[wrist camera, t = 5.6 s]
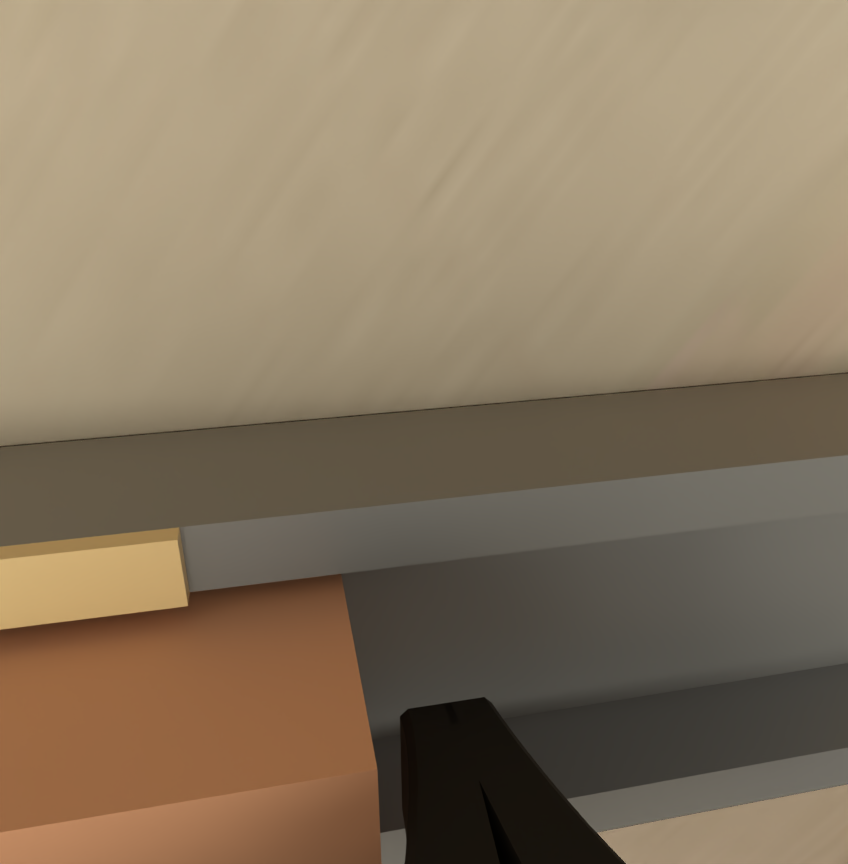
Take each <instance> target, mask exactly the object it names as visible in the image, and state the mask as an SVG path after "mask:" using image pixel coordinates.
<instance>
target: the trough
mask: <svg viewBox="0 0 848 864" xmlns="http://www.w3.org/2000/svg"><path fill="white" fill-rule="evenodd" d="M335 574H341V576H342V582H343V587H344V593H345V598H346V603H347V609H348V614H349V619H350V625H351V630H352V635H353V641H354V646H355V652H356V657H357V662H358V668H359V673H360V678H361V684H362V689H363V694H364V700H365V705H366V711H367V716H368V721H369V727H370V732H371V737H372V743H373V748H374V753H375V759H376V764H377V771H378V794H379V816H380V839H381V862H382V864H405V855H406V832H405V825H404V818H403V811H402V783H401V742H400V716H401V715H402V714H403V713H404V712H405V711H406V710H407V709H410V708H416V707H423V706H429V705H436V704H442V703H449V702H455V701H462V700H468V699H475V698H481V697H485V698H486V699H488V700H489V701H490V702H492V704H493V705H494V707H495V708H496V709H497V711H498V712H499V714H500V715H501V717H502V718H503V719H504V721H505V722H506V723H507V725H508V726H509V728H510V729H511V730H512V732H513V733H514V734H515V736H516V737H517V738H518V740H519V741H520V742H521V744H522V745H523V746H524V747H525V749H526V750H527V751H528V753H529V754H530V755H531V756H532V758H533V759H534V760H535V761H536V763H537V764H538V765H539V766H540V768H541V769H542V770H543V771H544V773H545V774H546V775H547V776H548V777H549V779H550V780H551V781H552V782H553V783H554V785H555V786H556V787H557V788H558V789H559V791H560V792H561V793H562V794H563V795H564V796H565V797H566V799H567V800H568V801H569V802H570V803H571V804H572V805H573V807H574V808H575V809H576V810H577V811H578V812H579V813H580V815H581V816H582V817H583V818H584V819H585V820H586V821H587V823H588V824H589V825H590V826H591V827H592V828H593V829H594V830H595V831H596V833H597V832H602V831H607V830H612V829H618V828H623V827H628V826H633V825H638V824H644V823H649V822H654V821H659V820H664V819H670V818H675V817H680V816H685V815H690V814H696V813H701V812H706V811H711V810H716V809H722V808H727V807H732V806H737V805H742V804H748V803H753V802H758V801H763V800H768V799H774V798H779V797H784V796H789V795H794V794H799V793H805V792H810V791H815V790H820V789H825V788H831V787H836V786H841V785H846V784H848V373H846V374H834V375H823V376H811V377H800V378H788V379H777V380H765V381H754V382H742V383H731V384H720V385H708V386H697V387H685V388H674V389H662V390H651V391H639V392H628V393H616V394H605V395H593V396H582V397H570V398H559V399H547V400H536V401H525V402H513V403H502V404H490V405H479V406H467V407H456V408H444V409H433V410H421V411H410V412H398V413H387V414H375V415H364V416H352V417H341V418H330V419H318V420H307V421H295V422H284V423H272V424H261V425H249V426H238V427H226V428H215V429H203V430H192V431H180V432H169V433H157V434H146V435H135V436H123V437H112V438H100V439H89V440H77V441H66V442H54V443H43V444H31V445H20V446H8V447H0V630H2V629H10V628H18V627H26V626H34V625H42V624H50V623H58V622H65V621H73V620H81V619H89V618H97V617H105V616H113V615H121V614H129V613H137V612H145V611H153V610H161V609H169V608H177V607H185V606H188V603H189V594H190V592H196V591H204V590H212V589H221V588H229V587H237V586H245V585H253V584H261V583H269V582H278V581H286V580H294V579H302V578H310V577H318V576H327V575H335Z"/></svg>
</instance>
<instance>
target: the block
mask: <svg viewBox="0 0 848 864" xmlns="http://www.w3.org/2000/svg"><path fill="white" fill-rule="evenodd" d="M0 864H382V862H381V839H380V816H379V794H378V771H377V764H376V759H375V753H374V748H373V743H372V737H371V732H370V727H369V721H368V716H367V711H366V705H365V700H364V694H363V689H362V684H361V678H360V673H359V668H358V662H357V657H356V652H355V646H354V641H353V635H352V630H351V625H350V619H349V614H348V609H347V603H346V598H345V593H344V587H343V582H342V576H341V574H335V575H327V576H318V577H310V578H302V579H294V580H286V581H278V582H269V583H261V584H253V585H245V586H237V587H229V588H221V589H212V590H204V591H196V592H190V594H189V603H188V606H185V607H177V608H169V609H161V610H153V611H145V612H137V613H129V614H121V615H113V616H105V617H97V618H89V619H81V620H73V621H65V622H58V623H50V624H42V625H34V626H26V627H18V628H10V629H2V630H0Z"/></svg>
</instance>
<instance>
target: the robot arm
mask: <svg viewBox="0 0 848 864" xmlns="http://www.w3.org/2000/svg"><path fill="white" fill-rule="evenodd" d="M400 742H401V783H402V811H403V818H404V825H405V832H406V855H405V864H626V863H625V862H624V861H623V860H622V859H621V858H620V857H619V856H618V855H617V854H616V853H615V852H614V851H613V850H612V849H611V848H610V847H609V846H608V844H607V843H606V842H605V841H604V840H603V839H602V838H601V837H600V836H599V835H598V834H597V833H596V831H595V830H594V829H593V828H592V827H591V826H590V825H589V824H588V823H587V821H586V820H585V819H584V818H583V817H582V816H581V815H580V813H579V812H578V811H577V810H576V809H575V808H574V807H573V805H572V804H571V803H570V802H569V801H568V800H567V799H566V797H565V796H564V795H563V794H562V793H561V792H560V791H559V789H558V788H557V787H556V786H555V785H554V783H553V782H552V781H551V780H550V779H549V777H548V776H547V775H546V774H545V773H544V771H543V770H542V769H541V768H540V766H539V765H538V764H537V763H536V761H535V760H534V759H533V758H532V756H531V755H530V754H529V753H528V751H527V750H526V749H525V747H524V746H523V745H522V744H521V742H520V741H519V740H518V738H517V737H516V736H515V734H514V733H513V732H512V730H511V729H510V728H509V726H508V725H507V723H506V722H505V721H504V719H503V718H502V717H501V715H500V714H499V712H498V711H497V709H496V708H495V707H494V705H493V704H492V702H490V701H489V700H488V699H486V698H485V697H481V698H475V699H468V700H462V701H455V702H449V703H442V704H436V705H429V706H423V707H416V708H410V709H407V710H406V711H405V712H404V713H403V714H402V715H401V716H400Z"/></svg>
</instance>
